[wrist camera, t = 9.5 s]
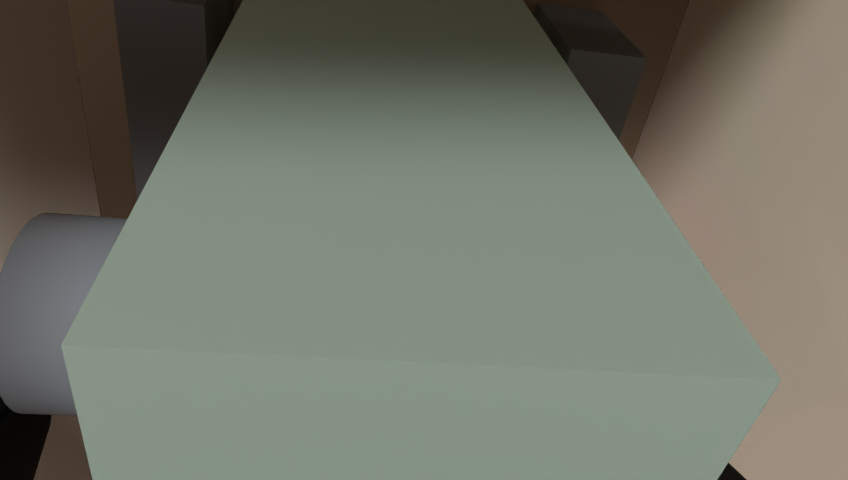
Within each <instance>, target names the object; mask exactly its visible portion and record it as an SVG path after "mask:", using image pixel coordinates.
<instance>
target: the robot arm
mask: <svg viewBox="0 0 848 480" xmlns="http://www.w3.org/2000/svg"><path fill="white" fill-rule="evenodd" d="M50 422H51V415H47V414H20V413H17V412H14V411H13V410H11V409H10V408H9V407H8V406H7V405H6V404H5V403H4V401H3V399H2V398H1V396H0V480H33V479H34V476H35V472H36V469H37V466H38V463H39V459H40V456H41V453H42V450H43V446H44V443H45V440H46V437H47V433H48V430H49V427H50ZM717 480H746V479H745V478H744V477H743V476H742V475H741V474H740V473H739V472H738V471H737V470H736V469H735V468H734V467H732V466H731V465H730V464H729V463H728V464H727V465H726V467H725V469H724V470H723V472H722V473H721V475H720V476H719V478H718V479H717Z"/></svg>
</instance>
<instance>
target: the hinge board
mask: <svg viewBox="0 0 848 480" xmlns="http://www.w3.org/2000/svg"><path fill="white" fill-rule="evenodd" d="M242 1H243V0H66V3H67V9H68V15H69V22H70V28H71V34H72V40H73V46H74V53H75V59H76V65H77V71H78V77H79V83H80V90H81V96H82V102H83V108H84V114H85V121H86V127H87V133H88V139H89V145H90V152H91V158H92V164H93V170H94V176H95V183H96V189H97V195H98V201H99V207H100V214H101V217H111V218H125V219H128V217H129V215H130V213H131V211H132V210H133V208H134V206H135V204H136V202H137V200H138V198H139V196H140V194H141V192H142V191H143V189H144V187H145V185H146V183H147V181H148V179H149V177H150V175H151V174H152V172H153V170H154V168H155V166H156V164H157V162H158V160H159V158H160V156H161V155H162V153H163V151H164V149H165V147H166V145H167V143H168V141H169V139H170V137H171V136H172V134H173V132H174V130H175V128H176V126H177V124H178V122H179V120H180V119H181V117H182V115H183V113H184V111H185V109H186V107H187V105H188V103H189V101H190V100H191V98H192V96H193V94H194V92H195V90H196V88H197V86H198V84H199V82H200V81H201V79H202V77H203V75H204V73H205V71H206V69H207V67H208V65H209V64H210V62H211V60H212V58H213V56H214V54H215V52H216V50H217V48H218V46H219V45H220V43H221V41H222V39H223V37H224V35H225V33H226V31H227V29H228V27H229V26H230V24H231V22H232V20H233V18H234V16H235V14H236V12H237V10H238V9H239V7H240V5H241V3H242ZM523 1H524V3H525V4H526V5H527V7H528V8H529V10H530V11H531V13H532V14H533V16H534V17H535V19H536V20H537V22H538V23H539V25H540V26H541V27H542V29H543V30H544V32H545V33H546V35H547V36H548V38H549V39H550V41H551V42H552V44H553V45H554V47H555V48H556V49H557V51H558V52H559V54H560V55H561V57H562V58H563V60H564V61H565V63H566V64H567V66H568V67H569V69H570V70H571V71H572V73H573V74H574V76H575V77H576V79H577V80H578V82H579V83H580V85H581V86H582V88H583V89H584V91H585V92H586V93H587V95H588V96H589V98H590V99H591V101H592V102H593V104H594V105H595V107H596V108H597V110H598V111H599V113H600V114H601V116H602V117H603V118H604V120H605V121H606V123H607V124H608V126H609V127H610V129H611V130H612V132H613V133H614V135H615V136H616V138H617V139H618V140H619V142H620V143H621V145H622V146H623V148H624V149H625V151H626V152H627V154H628V155H629V157H630V158H631V160H632V158H633V155H634V152H635V149H636V147H637V144H638V141H639V138H640V136H641V133H642V130H643V127H644V125H645V122H646V119H647V116H648V113H649V111H650V108H651V105H652V102H653V100H654V97H655V94H656V91H657V88H658V86H659V83H660V80H661V77H662V75H663V72H664V69H665V66H666V64H667V61H668V58H669V55H670V52H671V50H672V47H673V44H674V41H675V39H676V36H677V33H678V30H679V28H680V25H681V22H682V19H683V16H684V14H685V11H686V8H687V5H688V3H689V0H523Z"/></svg>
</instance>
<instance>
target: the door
mask: <svg viewBox="0 0 848 480" xmlns="http://www.w3.org/2000/svg"><path fill="white" fill-rule="evenodd" d="M780 381H781V378H780V377H779V375H778V374H777V372H776V371H775V369H774V368H773V366H772V365H771V363H770V362H769V361H768V359H767V358H766V356H765V355H764V353H763V352H762V350H761V349H760V347H759V346H758V344H757V343H756V341H755V340H754V339H753V337H752V336H751V334H750V333H749V331H748V330H747V328H746V327H745V325H744V324H743V322H742V321H741V319H740V318H739V317H738V315H737V314H736V312H735V311H734V309H733V308H732V306H731V305H730V303H729V302H728V300H727V299H726V297H725V296H724V295H723V293H722V292H721V290H720V289H719V287H718V286H717V284H716V283H715V281H714V280H713V278H712V277H711V275H710V274H709V273H708V271H707V270H706V268H705V267H704V265H703V264H702V262H701V261H700V259H699V258H698V256H697V255H696V253H695V252H694V250H693V249H692V248H691V246H690V245H689V243H688V242H687V240H686V239H685V237H684V236H683V234H682V233H681V231H680V230H679V228H678V227H677V226H676V224H675V223H674V221H673V220H672V218H671V217H670V215H669V214H668V212H667V211H666V209H665V208H664V206H663V205H662V204H661V202H660V201H659V199H658V198H657V196H656V195H655V193H654V192H653V190H652V189H651V187H650V186H649V184H648V183H647V182H646V180H645V179H644V177H643V176H642V174H641V173H640V171H639V170H638V168H637V167H636V165H635V164H634V162H633V161H632V160H631V158H630V157H629V155H628V154H627V152H626V151H625V149H624V148H623V146H622V145H621V143H620V142H619V140H618V139H617V138H616V136H615V135H614V133H613V132H612V130H611V129H610V127H609V126H608V124H607V123H606V121H605V120H604V118H603V117H602V116H601V114H600V113H599V111H598V110H597V108H596V107H595V105H594V104H593V102H592V101H591V99H590V98H589V96H588V95H587V93H586V92H585V91H584V89H583V88H582V86H581V85H580V83H579V82H578V80H577V79H576V77H575V76H574V74H573V73H572V71H571V70H570V69H569V67H568V66H567V64H566V63H565V61H564V60H563V58H562V57H561V55H560V54H559V52H558V51H557V49H556V48H555V47H554V45H553V44H552V42H551V41H550V39H549V38H548V36H547V35H546V33H545V32H544V30H543V29H542V27H541V26H540V25H539V23H538V22H537V20H536V19H535V17H534V16H533V14H532V13H531V11H530V10H529V8H528V7H527V5H526V4H525V3H524V1H523V0H243V1H242V3H241V5H240V7H239V9H238V10H237V12H236V14H235V16H234V18H233V20H232V22H231V24H230V26H229V27H228V29H227V31H226V33H225V35H224V37H223V39H222V41H221V43H220V45H219V46H218V48H217V50H216V52H215V54H214V56H213V58H212V60H211V62H210V64H209V65H208V67H207V69H206V71H205V73H204V75H203V77H202V79H201V81H200V82H199V84H198V86H197V88H196V90H195V92H194V94H193V96H192V98H191V100H190V101H189V103H188V105H187V107H186V109H185V111H184V113H183V115H182V117H181V119H180V120H179V122H178V124H177V126H176V128H175V130H174V132H173V134H172V136H171V137H170V139H169V141H168V143H167V145H166V147H165V149H164V151H163V153H162V155H161V156H160V158H159V160H158V162H157V164H156V166H155V168H154V170H153V172H152V174H151V175H150V177H149V179H148V181H147V183H146V185H145V187H144V189H143V191H142V192H141V194H140V196H139V198H138V200H137V202H136V204H135V206H134V208H133V210H132V211H131V213H130V215H129V217H128V219H125V218H111V217H98V216H84V215H71V214H57V213H43V214H39V215H37V216H36V217H34V218H33V219H31V220H30V221H29V222H28V223H27V224H26V225H25V226H24V228H23V229H22V230H21V231H20V233H19V234H18V236H17V237H16V239H15V241H14V243H13V245H12V246H11V248H10V250H9V253H8V255H7V258H6V260H5V262H4V265H3V268H2V271H1V274H0V396H1V398H2V399H3V401H4V403H5V404H6V405H7V406H8V407H9V408H10V409H11V410H13V411H14V412H17V413H20V414H47V415H76V416H78V420H79V424H80V429H81V433H82V437H83V441H84V446H85V450H86V454H87V458H88V463H89V467H90V471H91V475H92V480H717V479H718V478H719V476H720V475H721V473H722V472H723V470H724V469H725V467H726V465H727V464H728V462H729V461H730V459H731V458H732V456H733V454H734V453H735V451H736V450H737V448H738V447H739V445H740V444H741V442H742V440H743V439H744V437H745V436H746V434H747V433H748V431H749V430H750V428H751V426H752V425H753V423H754V422H755V420H756V419H757V417H758V415H759V414H760V412H761V411H762V409H763V408H764V406H765V405H766V403H767V401H768V400H769V398H770V397H771V395H772V394H773V392H774V391H775V389H776V387H777V386H778V384H779V383H780Z"/></svg>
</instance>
